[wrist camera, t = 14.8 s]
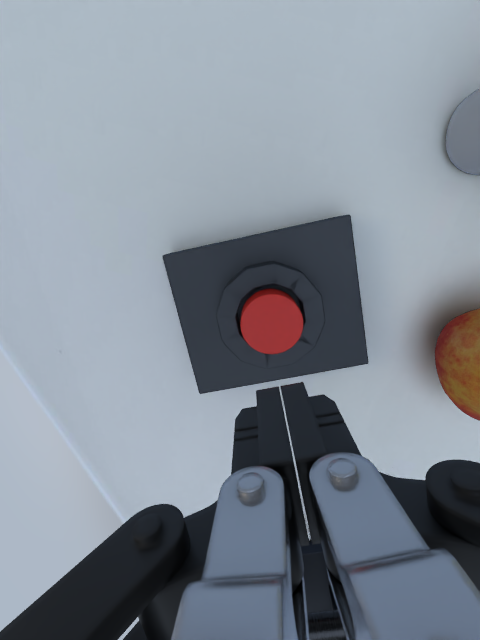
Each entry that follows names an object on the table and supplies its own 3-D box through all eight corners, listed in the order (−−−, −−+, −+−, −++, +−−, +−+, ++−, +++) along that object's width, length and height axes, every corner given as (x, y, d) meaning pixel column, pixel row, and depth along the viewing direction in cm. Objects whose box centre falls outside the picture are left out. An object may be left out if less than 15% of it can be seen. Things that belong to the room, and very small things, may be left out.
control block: (203, 380, 26) (195, 407, 22) (170, 253, 23) (153, 257, 19) (358, 352, 25) (378, 375, 21) (341, 215, 22) (360, 212, 18)
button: (247, 349, 21) (247, 359, 19) (235, 295, 20) (234, 301, 19) (303, 338, 21) (308, 348, 19) (294, 283, 20) (298, 288, 18)
